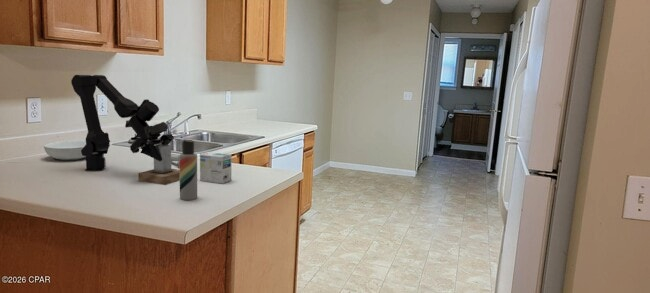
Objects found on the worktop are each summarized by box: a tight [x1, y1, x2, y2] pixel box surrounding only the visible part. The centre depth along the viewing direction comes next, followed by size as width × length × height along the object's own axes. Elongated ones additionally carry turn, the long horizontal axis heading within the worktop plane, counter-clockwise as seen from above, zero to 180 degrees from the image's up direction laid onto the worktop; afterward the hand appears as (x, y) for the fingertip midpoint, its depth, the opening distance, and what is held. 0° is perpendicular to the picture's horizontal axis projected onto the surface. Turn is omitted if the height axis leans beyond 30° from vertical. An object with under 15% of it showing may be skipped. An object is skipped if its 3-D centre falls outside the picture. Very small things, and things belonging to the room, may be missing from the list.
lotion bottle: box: [178, 139, 198, 201], centre depth 147 cm, size 6×6×20 cm
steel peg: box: [153, 144, 172, 174], centre depth 171 cm, size 4×4×12 cm
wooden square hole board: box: [137, 168, 180, 186], centre depth 172 cm, size 12×12×3 cm
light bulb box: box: [199, 151, 232, 185], centre depth 173 cm, size 11×7×11 cm, turn 71°
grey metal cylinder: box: [171, 153, 180, 168], centre depth 201 cm, size 5×7×25 cm
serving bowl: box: [43, 140, 86, 161], centre depth 203 cm, size 21×21×7 cm
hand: (165, 159), depth 171 cm, fingers closed on steel peg, 4 cm apart
